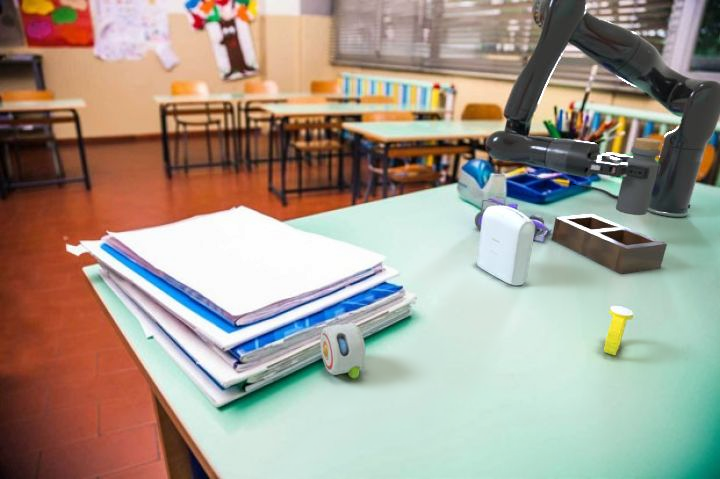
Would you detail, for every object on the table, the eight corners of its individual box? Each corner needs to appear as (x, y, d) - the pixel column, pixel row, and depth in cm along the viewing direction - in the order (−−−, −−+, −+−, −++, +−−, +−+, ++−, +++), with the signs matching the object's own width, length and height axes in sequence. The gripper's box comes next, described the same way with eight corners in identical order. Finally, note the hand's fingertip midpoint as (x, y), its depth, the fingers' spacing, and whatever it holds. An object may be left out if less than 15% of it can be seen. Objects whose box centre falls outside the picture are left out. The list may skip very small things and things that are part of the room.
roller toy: (331, 388, 56) (332, 344, 54) (314, 357, 62) (315, 317, 60) (366, 380, 58) (369, 337, 56) (347, 351, 64) (348, 311, 61)
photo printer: (472, 265, 91) (480, 201, 87) (490, 261, 93) (499, 199, 89) (510, 288, 83) (522, 218, 78) (529, 284, 85) (542, 215, 80)
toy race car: (541, 244, 103) (546, 215, 100) (473, 229, 110) (476, 201, 108) (552, 232, 110) (557, 204, 108) (487, 219, 118) (491, 192, 116)
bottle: (609, 206, 106) (626, 136, 101) (635, 206, 107) (652, 137, 101) (625, 215, 101) (643, 142, 95) (652, 215, 101) (671, 142, 96)
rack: (551, 239, 106) (555, 217, 104) (587, 235, 110) (591, 214, 108) (621, 274, 90) (627, 249, 88) (660, 268, 93) (667, 243, 92)
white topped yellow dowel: (618, 363, 63) (629, 323, 61) (595, 356, 65) (605, 316, 63) (626, 343, 68) (636, 305, 66) (604, 336, 69) (614, 299, 67)
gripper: (561, 143, 104) (648, 157, 93) (587, 137, 113) (669, 148, 102) (554, 178, 106) (638, 195, 95) (581, 169, 116) (660, 183, 105)
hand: (654, 171), depth 99 cm, fingers closed on bottle, 6 cm apart
